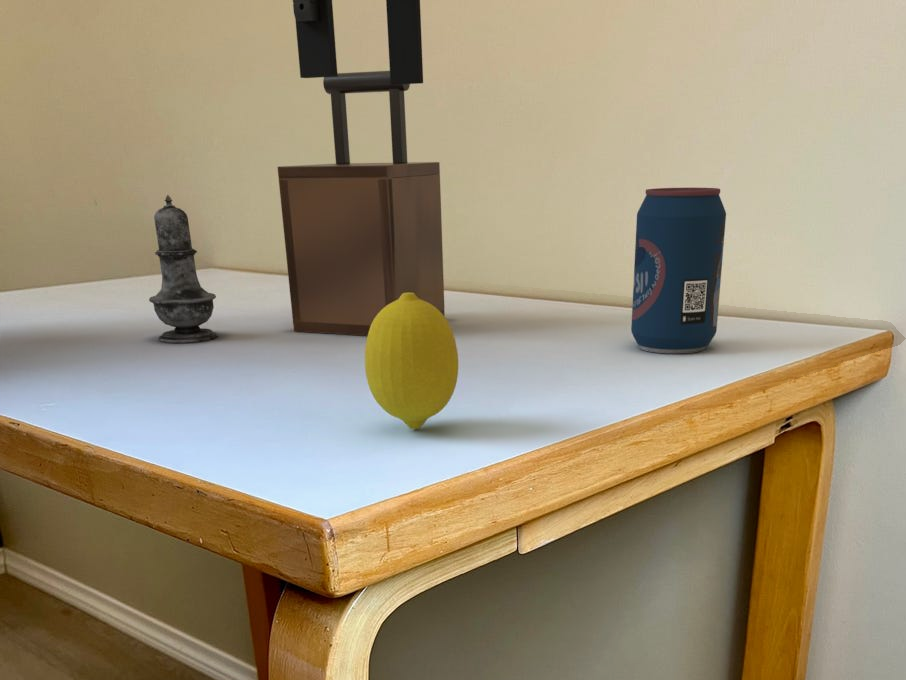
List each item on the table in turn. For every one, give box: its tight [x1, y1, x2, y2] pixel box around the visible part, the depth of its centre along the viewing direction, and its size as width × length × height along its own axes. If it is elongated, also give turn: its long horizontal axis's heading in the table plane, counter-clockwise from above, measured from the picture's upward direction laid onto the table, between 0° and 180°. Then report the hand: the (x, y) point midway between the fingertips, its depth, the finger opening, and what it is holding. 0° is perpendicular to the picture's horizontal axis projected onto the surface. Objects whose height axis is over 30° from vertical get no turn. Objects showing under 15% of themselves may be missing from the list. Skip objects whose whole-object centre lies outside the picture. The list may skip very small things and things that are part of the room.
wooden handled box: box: [277, 70, 446, 337], centre depth 92 cm, size 21×11×10 cm
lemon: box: [364, 292, 459, 430], centre depth 60 cm, size 6×6×8 cm
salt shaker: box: [148, 194, 219, 344], centre depth 90 cm, size 6×6×12 cm
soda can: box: [630, 187, 727, 355], centre depth 81 cm, size 7×7×12 cm
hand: (366, 81), depth 79 cm, fingers open, 13 cm apart
